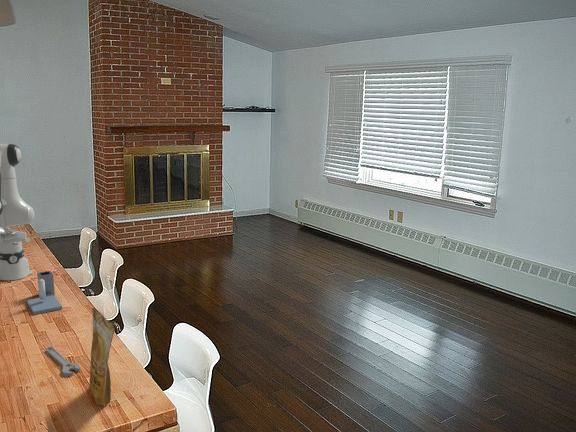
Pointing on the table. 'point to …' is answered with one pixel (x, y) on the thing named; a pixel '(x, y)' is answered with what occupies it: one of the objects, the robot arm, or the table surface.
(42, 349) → the table surface
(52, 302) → the shaft base
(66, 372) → the adjustable wrench
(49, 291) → the steel collar
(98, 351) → the pancake mix bag
